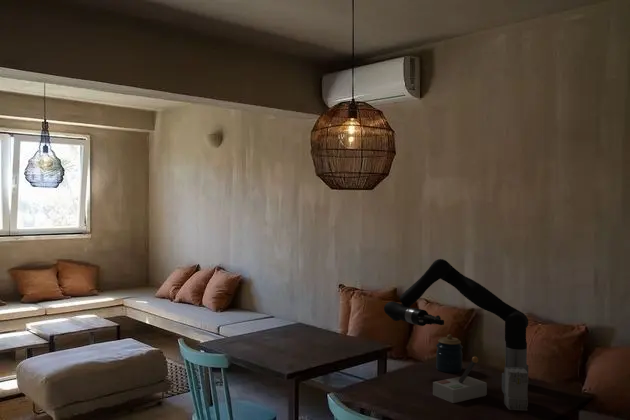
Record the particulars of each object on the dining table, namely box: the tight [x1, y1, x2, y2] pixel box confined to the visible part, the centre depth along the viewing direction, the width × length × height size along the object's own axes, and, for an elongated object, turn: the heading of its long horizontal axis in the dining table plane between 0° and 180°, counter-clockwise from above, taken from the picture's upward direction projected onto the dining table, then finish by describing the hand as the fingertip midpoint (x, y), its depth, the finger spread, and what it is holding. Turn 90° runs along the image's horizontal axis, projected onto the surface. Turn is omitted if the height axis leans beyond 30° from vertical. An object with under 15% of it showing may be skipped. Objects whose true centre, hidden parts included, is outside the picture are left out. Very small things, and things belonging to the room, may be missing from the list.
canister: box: [435, 333, 464, 374], centre depth 286 cm, size 13×13×18 cm
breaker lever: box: [459, 356, 479, 383], centre depth 243 cm, size 3×3×15 cm
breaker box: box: [432, 375, 488, 404], centre depth 247 cm, size 20×12×6 cm, turn 121°
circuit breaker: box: [501, 366, 529, 411], centre depth 237 cm, size 8×14×15 cm, turn 174°
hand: (443, 322), depth 256 cm, fingers closed
